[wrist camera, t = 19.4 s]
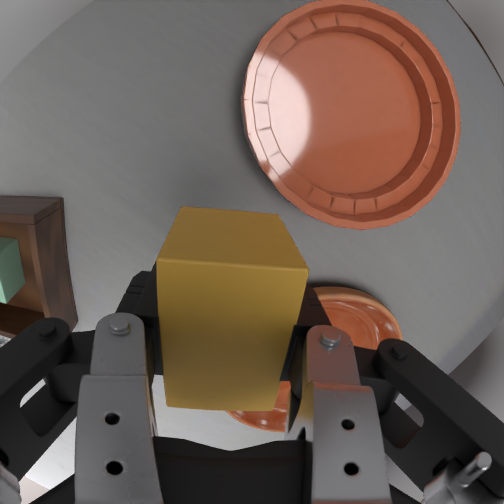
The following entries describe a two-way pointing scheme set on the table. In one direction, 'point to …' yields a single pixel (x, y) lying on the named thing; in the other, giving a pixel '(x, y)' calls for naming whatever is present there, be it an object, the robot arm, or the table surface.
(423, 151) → the bowl
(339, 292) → the saucer
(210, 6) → the table surface
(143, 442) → the robot arm
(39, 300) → the holder
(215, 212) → the yellow block
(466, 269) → the table surface
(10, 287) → the mint green block
